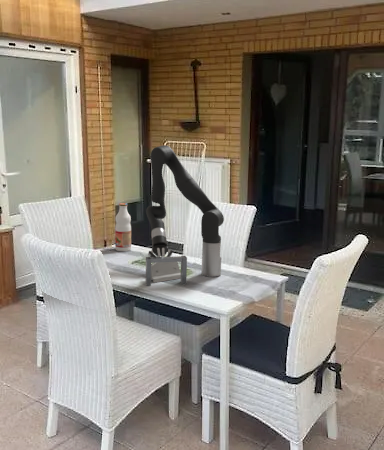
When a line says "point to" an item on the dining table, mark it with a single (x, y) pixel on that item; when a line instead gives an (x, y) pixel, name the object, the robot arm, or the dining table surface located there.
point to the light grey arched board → (165, 271)
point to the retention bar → (166, 259)
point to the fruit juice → (123, 229)
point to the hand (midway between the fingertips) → (162, 268)
